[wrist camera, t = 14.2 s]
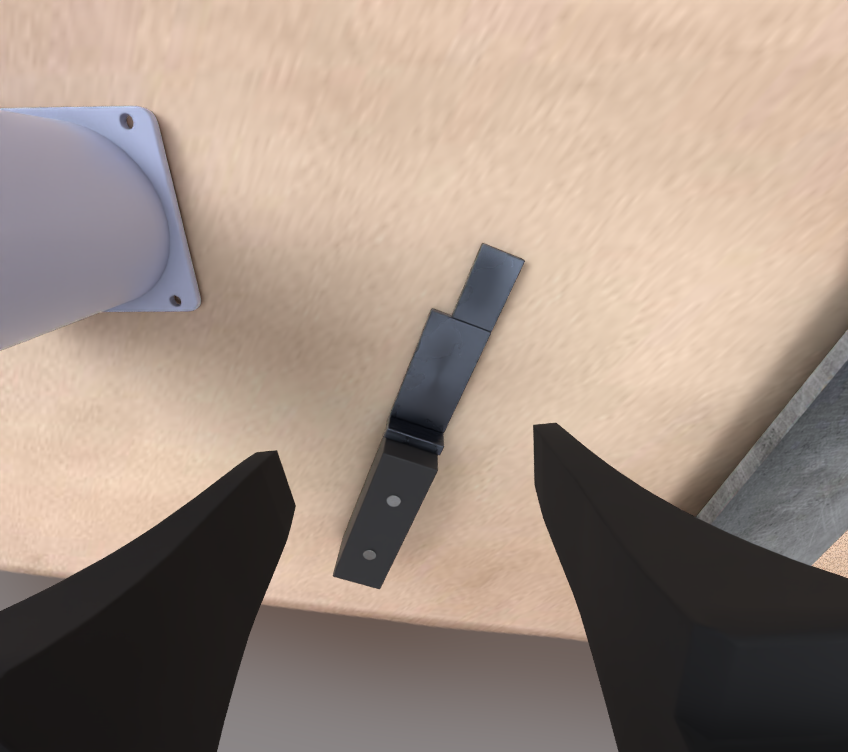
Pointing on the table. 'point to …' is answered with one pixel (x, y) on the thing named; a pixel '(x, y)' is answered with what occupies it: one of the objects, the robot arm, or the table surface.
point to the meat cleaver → (794, 471)
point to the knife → (423, 419)
